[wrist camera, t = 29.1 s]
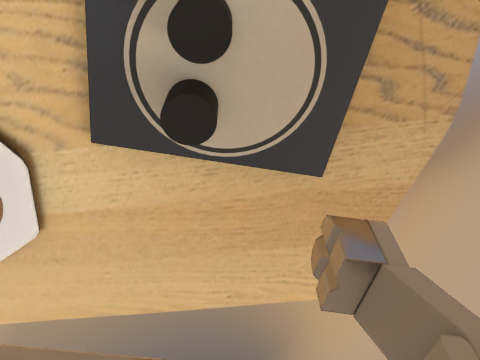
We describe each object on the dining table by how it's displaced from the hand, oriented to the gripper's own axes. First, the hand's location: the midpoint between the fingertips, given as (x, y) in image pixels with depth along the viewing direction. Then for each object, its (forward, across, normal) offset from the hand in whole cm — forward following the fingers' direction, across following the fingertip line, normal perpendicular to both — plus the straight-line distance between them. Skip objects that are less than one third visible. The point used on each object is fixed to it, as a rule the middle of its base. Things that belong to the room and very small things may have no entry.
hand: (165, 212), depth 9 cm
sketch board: (+21, -1, +2) cm, 21 cm away
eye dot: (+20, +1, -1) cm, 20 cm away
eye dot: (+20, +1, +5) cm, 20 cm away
